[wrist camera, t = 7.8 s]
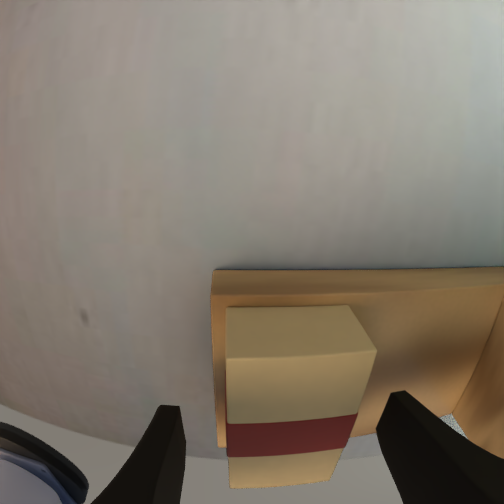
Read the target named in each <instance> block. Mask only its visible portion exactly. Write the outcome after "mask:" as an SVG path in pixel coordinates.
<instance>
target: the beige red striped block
mask: <svg viewBox="0 0 504 504" xmlns="http://www.w3.org/2000/svg"><path fill="white" fill-rule="evenodd" d="M376 354H377V349H376V348H375V346H374V344H373V343H372V341H371V340H370V338H369V337H368V335H367V333H366V332H365V330H364V329H363V327H362V326H361V324H360V322H359V321H358V319H357V318H356V316H355V315H354V313H353V312H352V310H351V309H350V307H349V306H348V305H333V306H302V307H227V308H226V370H225V426H226V451H227V456H228V463H229V485H230V488H231V489H236V488H265V487H277V486H290V485H300V484H307V483H316V482H323V481H329V480H330V478H331V476H332V474H333V472H334V469H335V467H336V465H337V463H338V460H339V458H340V455H341V453H342V451H343V448H344V447H345V446H346V444H347V442H348V439H349V437H350V434H351V432H352V429H353V426H354V424H355V421H356V418H357V416H358V409H359V407H360V404H361V401H362V398H363V395H364V392H365V389H366V386H367V383H368V380H369V377H370V374H371V371H372V367H373V364H374V361H375V357H376Z"/></svg>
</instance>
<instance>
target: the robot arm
mask: <svg viewBox="0 0 504 504" xmlns="http://www.w3.org/2000/svg"><path fill="white" fill-rule="evenodd" d="M375 429H376V433H377V437H378V441H379V444H380V448H381V451H382V454H383V456H384V458H385V461H386V463H387V465H388V468H389V470H390V472H391V474H392V477H393V479H394V482H395V484H396V486H397V489H398V491H399V493H400V496H401V498H402V501H403V504H504V459H503V458H500V457H498V456H496V455H494V454H492V453H490V452H488V451H486V450H485V449H483V448H481V447H479V446H477V445H476V444H474V443H473V442H471V441H469V440H468V439H466V438H465V437H464V436H462V435H461V434H459V433H458V432H456V431H455V430H454V429H452V428H451V427H450V426H449V425H447V424H446V423H445V422H443V421H442V420H441V419H440V418H438V417H437V416H436V415H435V414H434V413H432V412H431V411H430V410H429V409H427V408H426V407H425V406H424V405H423V404H422V403H420V402H419V401H418V400H417V399H416V398H414V397H413V396H412V395H411V394H409V393H408V392H407V391H406V390H403V391H397V392H392V393H390V396H389V398H388V401H387V403H386V405H385V408H384V410H383V413H382V415H381V417H380V419H379V422H378V424H377V426H376V428H375ZM185 456H186V439H185V434H184V429H183V423H182V418H181V412H180V406H170V405H160V406H159V407H158V408H157V411H156V413H155V415H154V417H153V419H152V421H151V423H150V424H149V426H148V428H147V430H146V431H145V433H144V435H143V437H142V438H141V440H140V441H139V443H138V445H137V446H136V448H135V449H134V451H133V453H132V454H131V456H130V457H129V459H128V460H127V461H126V463H125V464H124V465H123V467H122V468H121V470H120V471H119V472H118V473H117V475H116V476H115V477H114V479H113V480H112V481H111V482H110V483H109V485H108V486H107V487H106V488H105V489H104V490H103V491H102V493H101V494H100V495H99V496H98V497H97V498H96V499H95V500H94V501H93V502H92V503H91V504H180V498H181V491H182V484H183V477H184V471H185ZM0 504H77V503H76V502H75V501H74V500H73V498H72V497H71V496H70V495H69V494H68V493H67V491H66V490H65V489H64V488H63V486H62V485H61V484H60V483H59V481H58V480H57V479H56V478H55V476H54V475H53V474H52V472H51V471H50V470H49V468H48V467H47V466H46V465H45V464H44V463H42V462H39V461H36V460H33V459H30V458H27V457H24V456H21V455H18V454H15V453H13V452H10V451H7V450H5V449H2V448H0Z"/></svg>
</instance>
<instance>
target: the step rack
mask: <svg viewBox="0 0 504 504" xmlns="http://www.w3.org/2000/svg"><path fill="white" fill-rule="evenodd" d="M210 299H211V330H212V355H213V376H214V394H215V411H216V426H217V440H218V447H220V448H226V426H225V370H226V308H227V307H302V306H333V305H348V306H349V307H350V309H351V310H352V312H353V313H354V315H355V316H356V318H357V319H358V321H359V322H360V324H361V326H362V327H363V329H364V330H365V332H366V333H367V335H368V337H369V338H370V340H371V341H372V343H373V344H374V346H375V348H376V349H377V354H376V357H375V361H374V364H373V367H372V371H371V374H370V377H369V380H368V383H367V386H366V389H365V392H364V395H363V398H362V401H361V404H360V407H359V409H358V416H357V418H356V421H355V424H354V426H353V429H352V432H351V434H350V437H356V436H362V435H367V434H372V433H376V429H375V428H376V426H377V424H378V422H379V419H380V417H381V415H382V413H383V410H384V408H385V405H386V403H387V401H388V398H389V396H390V393H392V392H397V391H403V390H406V391H407V392H408V393H409V394H411V395H412V396H413V397H414V398H416V399H417V400H418V401H419V402H420V403H422V404H423V405H424V406H425V407H426V408H427V409H429V410H430V411H431V412H432V413H434V414H435V415H436V416H437V417H441V416H445V415H448V414H451V413H452V415H453V417H454V418H455V420H456V421H457V423H458V424H459V426H460V427H461V429H462V430H463V432H464V433H465V435H466V436H467V438H468V439H469V441H471V442H473V443H474V444H476V445H477V446H479V447H481V448H483V449H485V450H486V451H488V452H490V453H492V454H494V455H496V456H498V457H500V458H503V459H504V267H475V268H436V269H383V270H214V271H213V275H212V285H211V295H210ZM350 437H349V438H350Z"/></svg>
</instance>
